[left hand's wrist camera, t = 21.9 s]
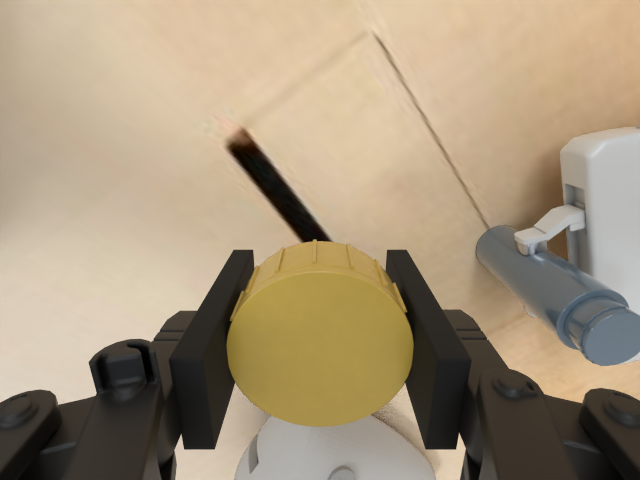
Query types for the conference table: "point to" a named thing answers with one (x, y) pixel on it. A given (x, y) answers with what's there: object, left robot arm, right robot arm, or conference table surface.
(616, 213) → the right robot arm
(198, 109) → the conference table surface
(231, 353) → the lid
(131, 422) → the left robot arm
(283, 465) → the projector
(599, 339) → the blue-grey bottle
